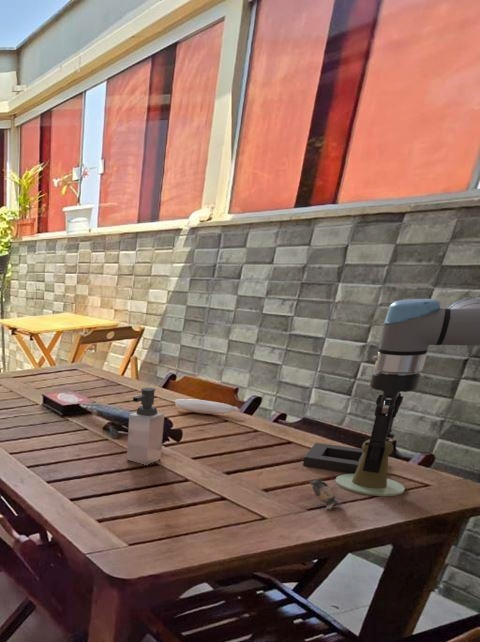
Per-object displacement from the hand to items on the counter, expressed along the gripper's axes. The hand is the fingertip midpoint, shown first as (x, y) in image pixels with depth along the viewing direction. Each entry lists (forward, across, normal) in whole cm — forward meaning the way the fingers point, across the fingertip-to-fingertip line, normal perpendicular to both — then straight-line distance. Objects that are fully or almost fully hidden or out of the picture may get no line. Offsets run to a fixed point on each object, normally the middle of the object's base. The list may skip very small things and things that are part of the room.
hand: (372, 467), depth 117 cm
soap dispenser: (+5, +12, -48) cm, 50 cm away
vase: (+5, +17, -6) cm, 19 cm away
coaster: (+5, 0, 0) cm, 5 cm away
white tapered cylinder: (+2, -88, -68) cm, 111 cm away
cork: (+4, 0, 0) cm, 4 cm away
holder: (+5, -13, -7) cm, 16 cm away
